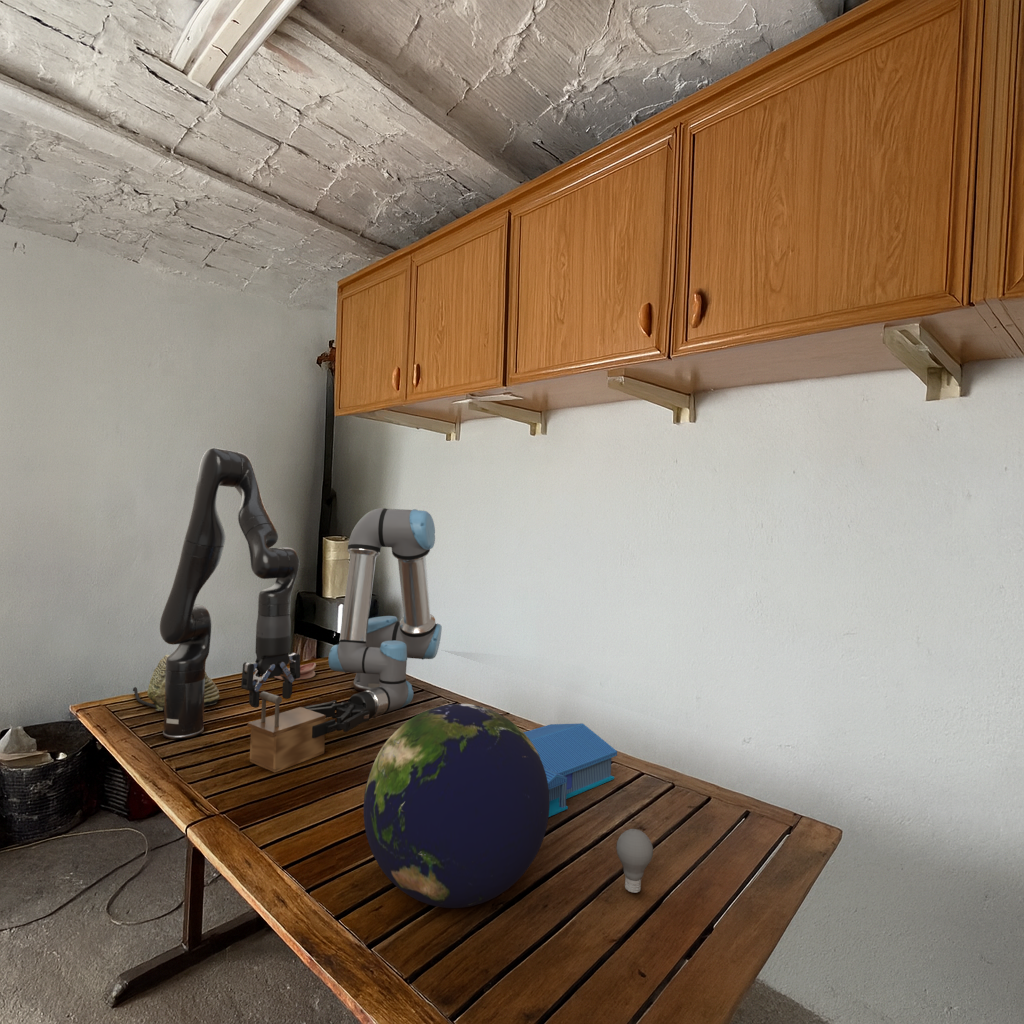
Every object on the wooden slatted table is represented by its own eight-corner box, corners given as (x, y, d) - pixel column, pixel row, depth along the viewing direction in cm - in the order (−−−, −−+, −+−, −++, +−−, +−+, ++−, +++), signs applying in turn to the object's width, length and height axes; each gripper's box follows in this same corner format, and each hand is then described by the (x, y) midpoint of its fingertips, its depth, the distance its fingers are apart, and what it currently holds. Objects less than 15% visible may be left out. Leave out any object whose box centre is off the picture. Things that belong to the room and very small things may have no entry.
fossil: (144, 707, 182) (145, 655, 182) (212, 696, 194) (213, 647, 194) (151, 716, 175) (153, 662, 175) (221, 703, 188) (223, 653, 188)
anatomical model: (267, 666, 215) (286, 658, 227) (267, 678, 215) (286, 669, 227) (303, 670, 213) (320, 662, 224) (303, 682, 213) (320, 673, 224)
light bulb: (610, 879, 108) (613, 822, 108) (644, 879, 109) (647, 822, 109) (619, 902, 102) (622, 840, 102) (655, 901, 103) (658, 840, 103)
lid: (272, 736, 143) (274, 701, 143) (247, 726, 149) (248, 692, 148) (325, 718, 156) (326, 686, 156) (300, 710, 161) (301, 678, 161)
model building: (497, 839, 120) (500, 786, 120) (424, 791, 138) (425, 745, 138) (625, 783, 146) (627, 740, 146) (549, 749, 164) (551, 711, 164)
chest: (274, 772, 144) (276, 735, 144) (249, 761, 149) (250, 725, 149) (324, 753, 156) (325, 718, 156) (299, 743, 161) (300, 710, 161)
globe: (319, 919, 95) (326, 721, 95) (420, 827, 123) (427, 673, 122) (502, 984, 84) (511, 760, 83) (568, 867, 112) (576, 698, 111)
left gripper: (256, 640, 140) (253, 713, 140) (308, 631, 152) (306, 698, 152) (235, 635, 144) (233, 706, 144) (288, 626, 156) (286, 692, 156)
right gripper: (396, 727, 168) (329, 754, 149) (339, 709, 180) (270, 731, 161) (397, 699, 168) (330, 722, 149) (340, 683, 180) (271, 702, 161)
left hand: (271, 702), depth 148 cm, fingers open, 8 cm apart
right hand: (299, 727), depth 155 cm, fingers closed on chest, 9 cm apart
